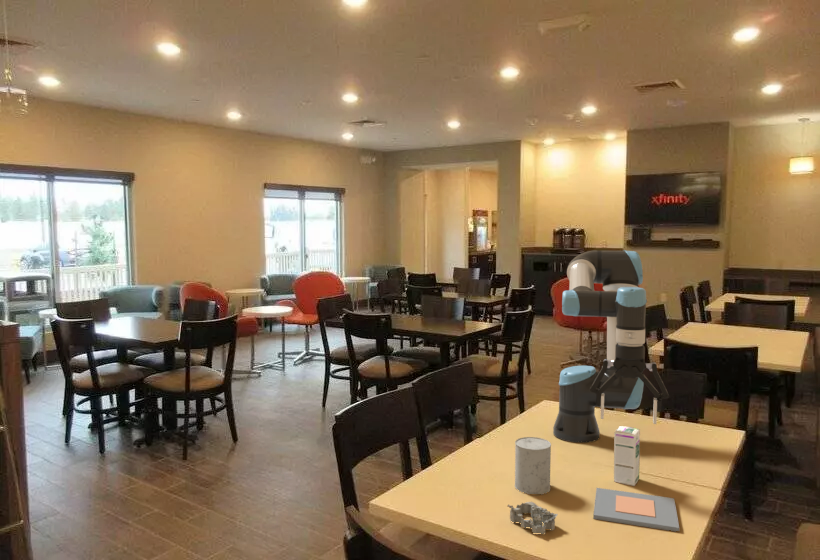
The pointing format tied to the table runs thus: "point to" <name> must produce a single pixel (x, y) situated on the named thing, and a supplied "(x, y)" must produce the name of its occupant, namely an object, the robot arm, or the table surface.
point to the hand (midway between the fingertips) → (628, 420)
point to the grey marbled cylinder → (532, 465)
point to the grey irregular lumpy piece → (533, 517)
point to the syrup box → (626, 455)
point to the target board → (636, 509)
